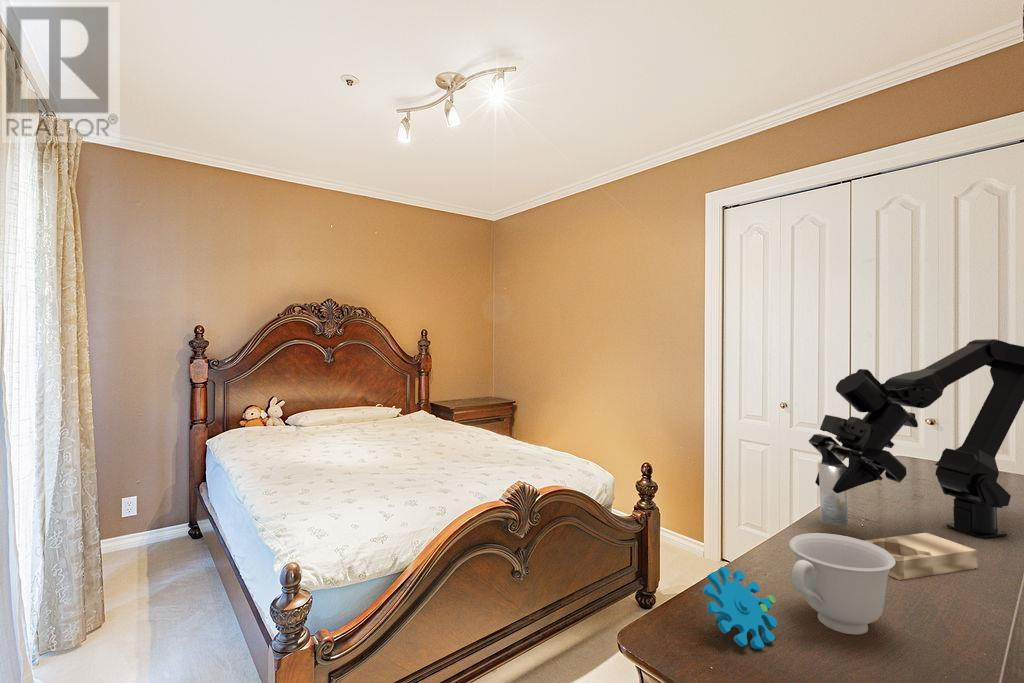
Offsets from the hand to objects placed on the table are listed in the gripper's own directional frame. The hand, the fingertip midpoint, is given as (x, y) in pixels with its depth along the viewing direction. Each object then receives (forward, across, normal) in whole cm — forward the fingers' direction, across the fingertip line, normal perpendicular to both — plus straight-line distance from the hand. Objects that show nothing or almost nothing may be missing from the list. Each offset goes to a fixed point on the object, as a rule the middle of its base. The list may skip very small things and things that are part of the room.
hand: (825, 488), depth 94 cm
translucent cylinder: (+4, 0, +6) cm, 7 cm away
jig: (+2, +11, +12) cm, 17 cm away
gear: (+30, +27, -16) cm, 43 cm away
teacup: (+21, +27, -6) cm, 35 cm away
